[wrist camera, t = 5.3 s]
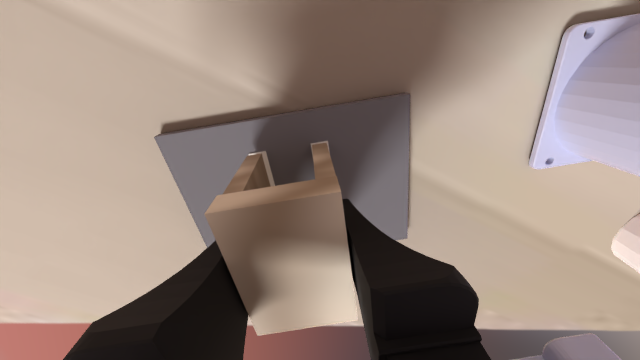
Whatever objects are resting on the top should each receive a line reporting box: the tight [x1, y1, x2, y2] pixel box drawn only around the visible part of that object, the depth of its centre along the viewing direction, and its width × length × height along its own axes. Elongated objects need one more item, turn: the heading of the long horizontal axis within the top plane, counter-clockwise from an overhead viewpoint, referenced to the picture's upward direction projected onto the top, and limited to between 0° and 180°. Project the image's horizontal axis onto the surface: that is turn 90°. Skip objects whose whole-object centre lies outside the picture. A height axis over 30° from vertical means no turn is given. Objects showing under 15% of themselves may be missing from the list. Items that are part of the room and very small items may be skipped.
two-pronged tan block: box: [205, 142, 358, 336], centre depth 12 cm, size 4×6×6 cm
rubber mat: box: [154, 93, 410, 248], centre depth 15 cm, size 14×10×1 cm
